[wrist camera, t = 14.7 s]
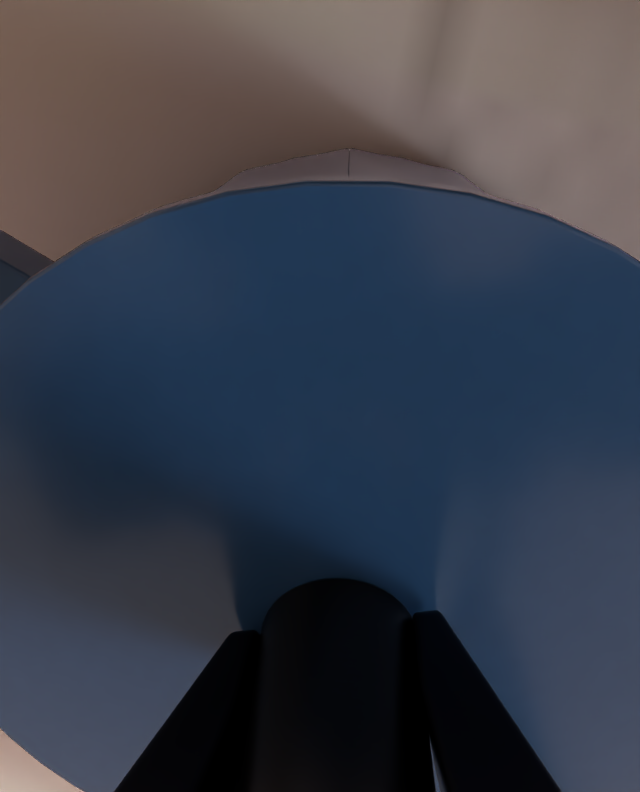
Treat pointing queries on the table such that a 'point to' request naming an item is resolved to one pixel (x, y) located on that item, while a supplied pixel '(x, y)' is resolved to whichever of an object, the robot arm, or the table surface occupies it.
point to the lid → (323, 480)
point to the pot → (16, 262)
